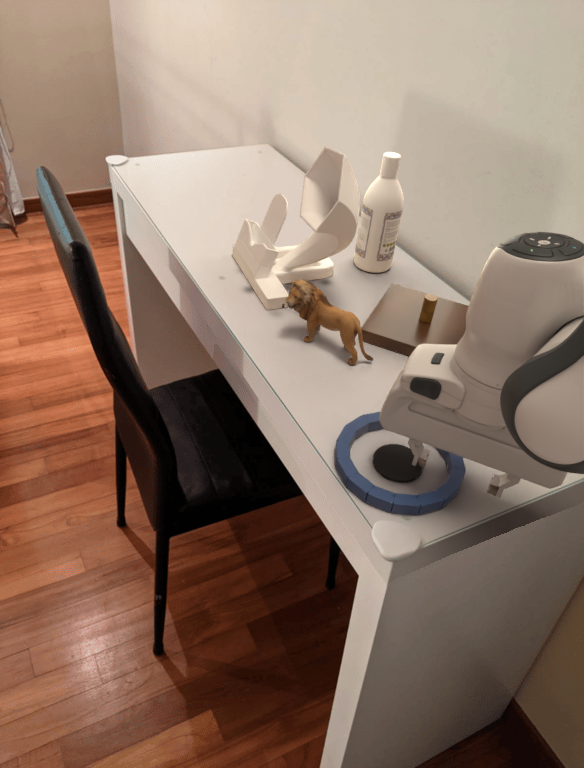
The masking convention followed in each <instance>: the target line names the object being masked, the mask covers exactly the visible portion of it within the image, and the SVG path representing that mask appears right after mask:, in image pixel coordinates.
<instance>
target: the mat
mask: <svg viewBox="0 0 584 768" xmlns="http://www.w3.org/2000/svg"><path fill="white" fill-rule="evenodd" d="M413 459H414V455H413V453H412V451H411V448H410V447H408V446H405V445H403V444H399V443H388V444H383V445H381V446H379V447H378V448H377V449H376V450H375V451H374V453H373V456H372V465H373V467H374V469H375V471H376V472H377V473H378V474H379V475H380V476H381V477H383V478H384V479H386V480H388V481H391V482H394V483H400V484H402V483H403V484H405V483H407V484H408V483H412V482H414V481H415V480H417V479H419V478H420V476H421V475H422V473H423V470H424V469H422V468H419V467H417V466H414V465H412V462H413Z"/></svg>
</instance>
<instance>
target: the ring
mask: <svg viewBox="0 0 584 768" xmlns="http://www.w3.org/2000/svg"><path fill="white" fill-rule="evenodd" d="M380 412H381V410H380V411H377V412H371V413H366V414H362V415H359V416H358V417H356V418H354V419H353V420H351V421H350V422H348V423H346V424H345V425H344V426H343V428H342V430H341V431H340V433H339V435H338V437H337V438H336V441H335V445H334V467H335V470H336V472H337V474H338V476H339V478H340V479H341V481H342V483H343V485H344V486H345V487H346V488H347V489H348V490H349V491H350V492H352V494H354V495H355V496H356V497H358V499H360V500H361V501H362V502H364V503H365V504H367V505H370V506H372V507H375V508H377V509H379V510H382V511H384V512H387V513H390V514H396V515H406V516H407V515H409V516H421V515H425V514H428V513H432V512H436V511H439V510H440V511H441V510H442V509H443V508H445V507H446V506H447V505H448V504H450V503H451V502H452V501H453V500H454V499H455V498H457V496H458V494H459V493H460V489H461V487H462V484H463V480H464V477H465V474H466V466H465V465H466V464H465V460H464V458H463V457H460V456H458V455H455V454H452V453H449V452H447V451H444V450H441V449H438V448H436V450H437V451H438V453H439V454H440V455H441V457H442V458H443V459H444V460H445V465H446V469H447V474H448V477H447V479H446V480H445V482H443V483H442V484H441V485H439V486H438V487H437V488H435V490H431V491H427V492H423V493H419V494H411V493H399V492H393V491H390V490H387V489H386V488H383V487H380V486H378V485H375V484H374V483H373V482H371V481H370V480H369V479H367V478H366V477H365V476H364V475H362V474H361V473H360V472H359V470H358V469H357V466H356V465H355V464H354V462H353V460H352V458H351V447H352V446H353V444H354V442H355V441H356V440H357V439H358V438H360V437H361V436H363V435H365V434H366V433H369V432H373V431H378V430H383V429H384V428H383V427H382V425H381V423H380V421H379V416H380ZM384 430H385V429H384Z"/></svg>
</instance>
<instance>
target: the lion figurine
mask: <svg viewBox="0 0 584 768" xmlns="http://www.w3.org/2000/svg"><path fill="white" fill-rule="evenodd" d="M288 293H289V294H288V297H287V298H286V299H285V300H286V303H288V307H287V308H288V309H290V310H291V309H293V310H294V311H295V312H296V313H298V314H299V316H298V317H299V318H300V319H301V320H304V321H305V322H306V329H307V334H308V335H304V336H303V341H304V342H305V343H311V342H313V341H314V339H315V334H318V333H319V332H320V329H321V327H322V328H324V329H326V330H328V331H332V332H339V336H340V340H341V342H342V344H343V347H344V348H345V349H346V350H347V351H348V353H349V354H350V356H351V357H348V358H347V364H348V365H351V366H353V365H356V364H357V363H358V360H359V359H358V358H359V357H358V350H357V349H356V347H355V346H356V344H357V343H356V338H357V337H358V338H357V339H359V340H358V344H359V349H360V351H361V354H362V356H363V357H364V358H365V359H366V360H367V361H371V362H373V361H374V357H373V356H371V355H369V354H368V353H367V352H366V351H365V347H364V341H363V336H362V330H361V327H362V326H361V321H360V319H359V318H358V316H357V315H356V314H355V313H354V312H351V311H347V310H344V309H341V308H339V307H337V306H335V305H333V304H331V302H330V301H329V300H328V298H327V296H326V295H325V293H324V292H323V291H322V290H321V289H319V288H318V286H317V285H316V284H314V283H311V281H310V280H308V281H306V280H302V279H299V280H297V281H296V280H295V281H294V282H293V281H291V283H290V286H289V291H288Z"/></svg>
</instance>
